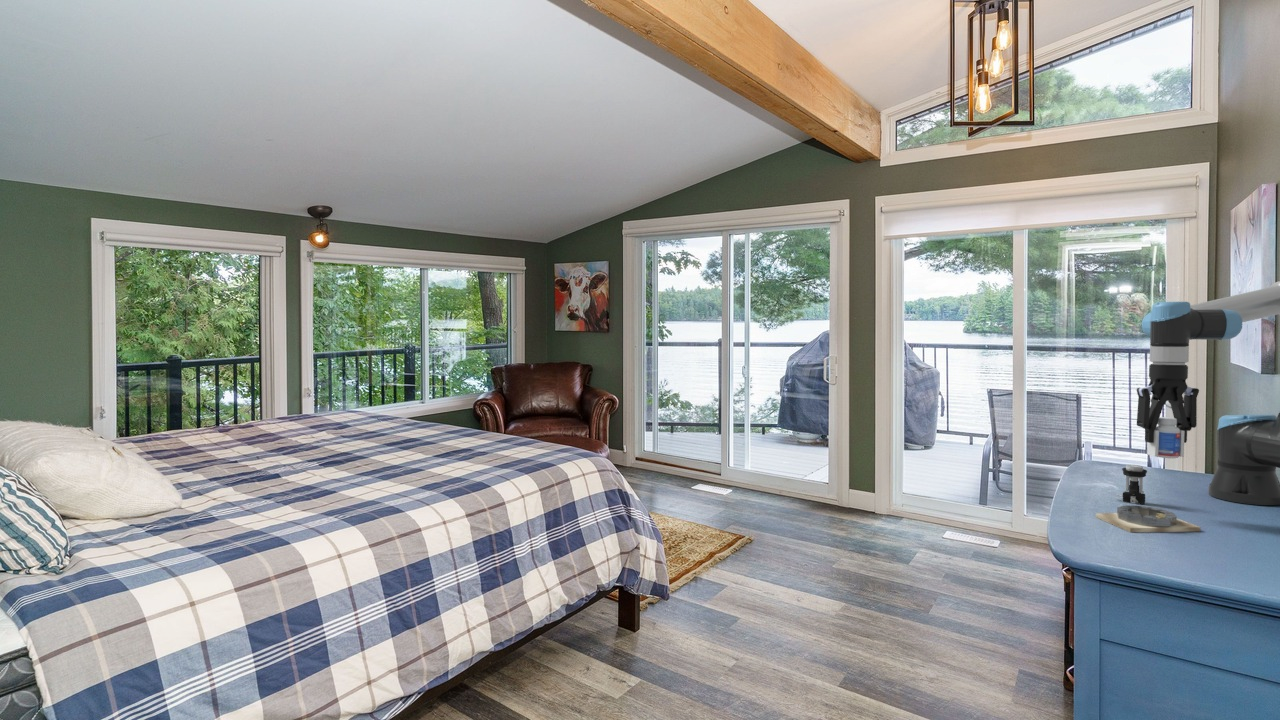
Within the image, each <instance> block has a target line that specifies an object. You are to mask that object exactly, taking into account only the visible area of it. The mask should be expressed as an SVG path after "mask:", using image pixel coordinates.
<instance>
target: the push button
mask: <svg viewBox="0 0 1280 720" xmlns="http://www.w3.org/2000/svg"><path fill="white" fill-rule="evenodd" d="M1143 467H1144V466H1143V465H1138V464H1126V465H1125V467H1123V468H1121V471H1122V474H1123V475H1124V476H1125V488H1124V491H1123V492H1122V494H1115V496H1119V497H1115V499H1117V500H1122V503H1130V504H1136V505H1140V506H1144V505H1145V503H1146V493H1145V491H1144V490H1143V488H1144V487H1143V482H1144V481H1143V478H1144V477H1146V476H1147V473H1148V470H1147V469H1144V468H1143ZM1120 497H1121V498H1120Z"/></svg>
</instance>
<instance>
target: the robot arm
mask: <svg viewBox="0 0 1280 720" xmlns="http://www.w3.org/2000/svg"><path fill="white" fill-rule="evenodd" d="M1277 315H1278V316H1280V281H1279V280H1278V281H1276V282H1273V283H1271V284H1270V286H1269V287H1265V288H1261V289H1257V290H1253V291H1248V292H1243V293H1238V294H1234V295H1231V296H1226V297H1222V298H1218V299H1212V300H1207V301H1203V302H1200V303H1195V304H1191V303H1190V302H1188V301H1158V302H1155V303H1153V304H1152V306H1151V312H1149V313H1147V314H1146V315H1145V316H1144V317H1143V319H1142V321H1141V329H1142V331H1143V333H1144V335H1146V336H1147V337H1149V338H1150V339H1149V345H1150V346H1149V362H1150V363H1151V364H1149V367H1148V377H1149V383H1148V385H1147V386H1145V387H1137V389H1136V393H1137V396H1138V399H1137V400H1138V401H1137V413H1136V414H1137V415H1136V426H1137V427H1139V428H1142V429H1144V442H1145V443H1146V444H1147V447H1146V448H1147V449H1146V455H1148V456H1152V457H1155V458H1159V457H1158V448H1159V431H1158V430H1155V429H1156V426H1157V423H1158V420H1159V417H1160V416H1161V413H1162V411H1163V407H1164V406H1165V405H1166V404H1167V401H1168V403H1169V404H1170V407H1171V408H1170V409H1171V411H1172V416H1173V418H1175V419H1177V424H1176V425H1175V426H1176V427H1177V428H1179V429H1180V445H1179V458H1180V457H1181V458H1183V457H1184V456H1185V455H1184V454H1185V452H1184V451H1185V443H1187V441H1188V432H1190V431H1192V429H1193V428H1194V429H1195V428H1196V427H1197V418H1198V417H1197V411H1198V409H1197V404H1198V403H1197V398H1198V396H1199V392H1200V390H1199V388H1197V387H1190V386H1188V384H1187V382H1186V381H1187V380H1188V378H1189V377H1188V376H1189V366H1188V364H1187V363H1188V362H1189V357H1190V356H1189V355H1190V351H1189V350H1190V340H1191V341H1192V340H1201V341H1202V340H1206V341H1207V340H1209V341H1211V340H1213V341H1214V340H1216V341H1222V340H1230V339H1231V340H1232V339H1234V338H1235V337H1237V336H1239V334H1240V333H1241V331H1242V329H1243V323H1246V322H1250V321H1255V320H1259V319H1264V318H1268V317H1272V316H1277ZM1183 395H1184V396H1183ZM1216 430H1217V431H1216V432H1217V464H1216V465H1217V466H1216V469H1215V472H1214V474H1213V477H1212V479H1211V483H1209V484H1208V495H1209V496H1210V497H1212V498H1216V499H1218V500H1223V501H1228V502H1233V503H1238V504H1248V505H1255V506H1256V505H1257V506H1278V505H1280V481H1279V478H1278V476H1277V472H1276V471H1277V468H1279V469H1280V411H1279V412H1278V414H1277V415H1275V414H1226V415H1222V416H1220V417H1219V419H1218V425H1217V429H1216Z"/></svg>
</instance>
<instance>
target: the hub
mask: <svg viewBox="0 0 1280 720" xmlns="http://www.w3.org/2000/svg"><path fill="white" fill-rule="evenodd" d="M1116 508H1117V512H1116V513H1117V516H1118V518H1119V519H1121V520H1123V521H1126V522H1129V523H1133V524H1138V525H1143V526H1152V527H1171V526H1174V525H1176V519H1178V518H1177V515H1176V514H1175V513H1174V512H1172V511H1169V510H1166V509H1162V508H1159V507H1157V508H1156V507H1152V506H1144V505H1137V504H1136V505H1134V504H1133V505H1122V506H1118V507H1116Z"/></svg>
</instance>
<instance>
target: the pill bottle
mask: <svg viewBox="0 0 1280 720" xmlns="http://www.w3.org/2000/svg"><path fill="white" fill-rule="evenodd" d="M1176 424H1177V419H1175V418H1174V417H1166V416H1165V417H1163V416H1161V417H1159V420H1158V423H1157V426H1156V429H1155V430H1158V431H1159V448H1158V457H1157V458H1160V459H1161V458H1162V459H1178V458H1180V456H1179V445H1180V429H1179V428H1177V427H1176Z"/></svg>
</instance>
